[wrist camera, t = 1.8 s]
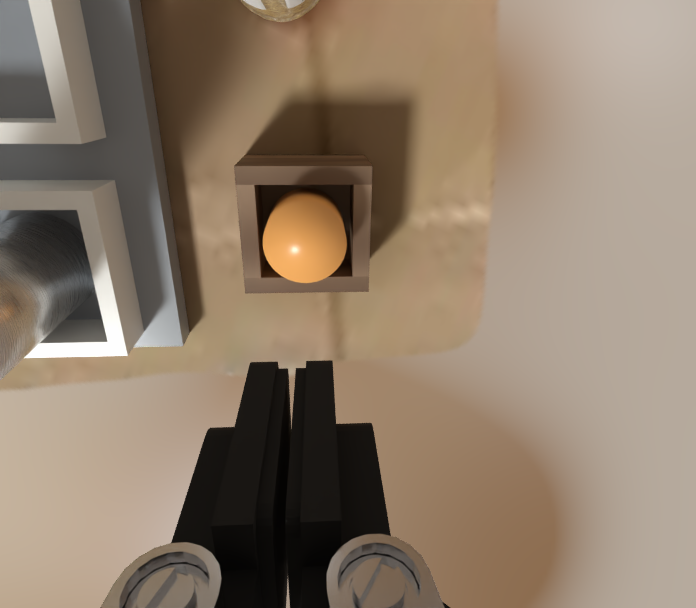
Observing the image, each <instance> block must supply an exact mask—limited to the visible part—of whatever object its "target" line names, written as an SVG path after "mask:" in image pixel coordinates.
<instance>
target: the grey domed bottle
mask: <svg viewBox="0 0 696 608" xmlns="http://www.w3.org/2000/svg"><path fill="white" fill-rule="evenodd" d="M94 290H95V285H94V281H93V277H92V272H91V268H90V264H89V259H88V255H87V251H86V247H85V242H84V238H83V234H82V232H81V231H79V230H78V229H77V228H76V227H74V226H73V225H71V224H70V223H68V222H66V221H65V220H63V219H60V218H58V217H55V216H52V215H48V214H42V213H27V214H22V215H19V216H16V217H13V218H11V219H9V220H7V221H5V222H2V223H0V380H1V379H2V378H3V377H4V376H5V375H6V374H7V373H8V372H10V371H11V370H12V369H13V368H14V367H15V366H16V365H17V364H18V363H19V362H20V361H21V360H22V359H23V358H24V357H25V356H26V355H28V354H29V353H30V352H31V351H32V350H33V349H34V348H35V347H36V346H37V345H38V344H39V343H40V342H41V341H42V340H43V339H44V338H46V337H47V336H48V335H49V334H50V333H51V332H52V331H53V330H54V329H55V328H56V327H57V326H58V325H59V324H60V323H61V322H62V321H64V320H65V319H66V318H67V317H68V316H69V315H70V314H71V313H72V312H73V311H74V310H75V309H76V308H77V307H78V306H79V305H80V304H82V303H83V302H84V301H85V300H86V299H87V298H88V297H89V296H90V295H91V294H92V293H93V291H94Z"/></svg>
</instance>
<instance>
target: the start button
mask: <svg viewBox="0 0 696 608" xmlns="http://www.w3.org/2000/svg"><path fill="white" fill-rule="evenodd" d="M346 248H347V239H346V234H345V228H344V223H343V218H342V214H341V211H340V209H339V207H338V206H337V204H336V203H335V201H334V200H333V199H332V198H331V197H329V196H328V195H327V194H325V193H323V192H321V191H319V190H316V189H311V188H299V189H295V190H292V191H290V192H288V193H286V194H284V195H283V196H282V197H281V198H279V199H278V201H277V202H276V203H275V205H274V206H273V208H272V210H271V213H270V216H269V219H268V222H267V225H266V227H265V231H264V234H263V250H264V254H265V256H266V259H267V261H268V262H269V264H270V265H271V267H272V268H273V269H274V270H275V271H276V272H277V273H278V274H280V275H281V276H283V277H284V278H286V279H288V280H291V281H294V282H299V283H312V282H317V281H320V280H323V279H325V278H327V277H328V276H330V275H331V274H332V273H334V272H335V271H336V270H337V269H338V267H339V266H340V265H341V263H342V261H343V259H344V256H345V253H346Z"/></svg>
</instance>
